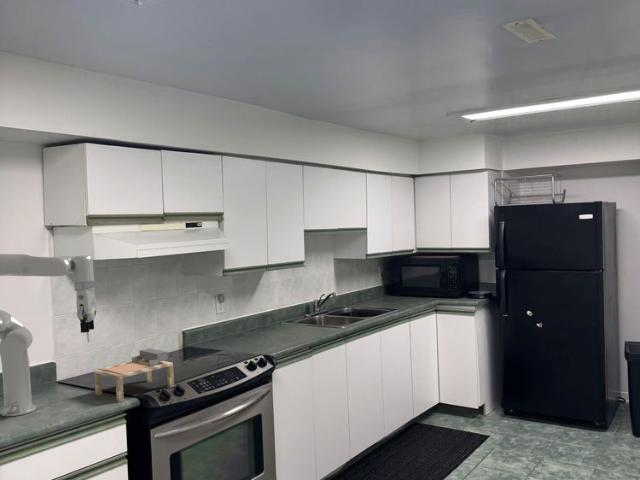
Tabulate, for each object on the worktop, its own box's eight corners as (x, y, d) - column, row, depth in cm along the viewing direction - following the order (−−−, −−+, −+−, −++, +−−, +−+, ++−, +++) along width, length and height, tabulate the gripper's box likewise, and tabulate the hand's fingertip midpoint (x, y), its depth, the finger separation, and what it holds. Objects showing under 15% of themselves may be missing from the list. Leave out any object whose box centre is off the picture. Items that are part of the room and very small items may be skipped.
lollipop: (96, 342, 234) (93, 305, 234) (77, 344, 233) (74, 306, 233) (99, 339, 241) (96, 302, 241) (81, 340, 240) (78, 304, 240)
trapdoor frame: (149, 380, 271) (148, 357, 270) (174, 386, 258) (173, 362, 258) (95, 394, 251) (94, 370, 250) (119, 402, 238) (117, 376, 238)
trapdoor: (149, 360, 268) (149, 348, 268) (167, 364, 259) (167, 351, 259) (104, 371, 251) (104, 358, 251) (122, 376, 242) (121, 362, 242)
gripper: (87, 287, 228) (90, 334, 229) (100, 283, 245) (103, 326, 246) (67, 289, 228) (70, 335, 228) (82, 284, 245) (85, 327, 246)
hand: (87, 330), depth 237 cm, fingers closed on lollipop, 5 cm apart
